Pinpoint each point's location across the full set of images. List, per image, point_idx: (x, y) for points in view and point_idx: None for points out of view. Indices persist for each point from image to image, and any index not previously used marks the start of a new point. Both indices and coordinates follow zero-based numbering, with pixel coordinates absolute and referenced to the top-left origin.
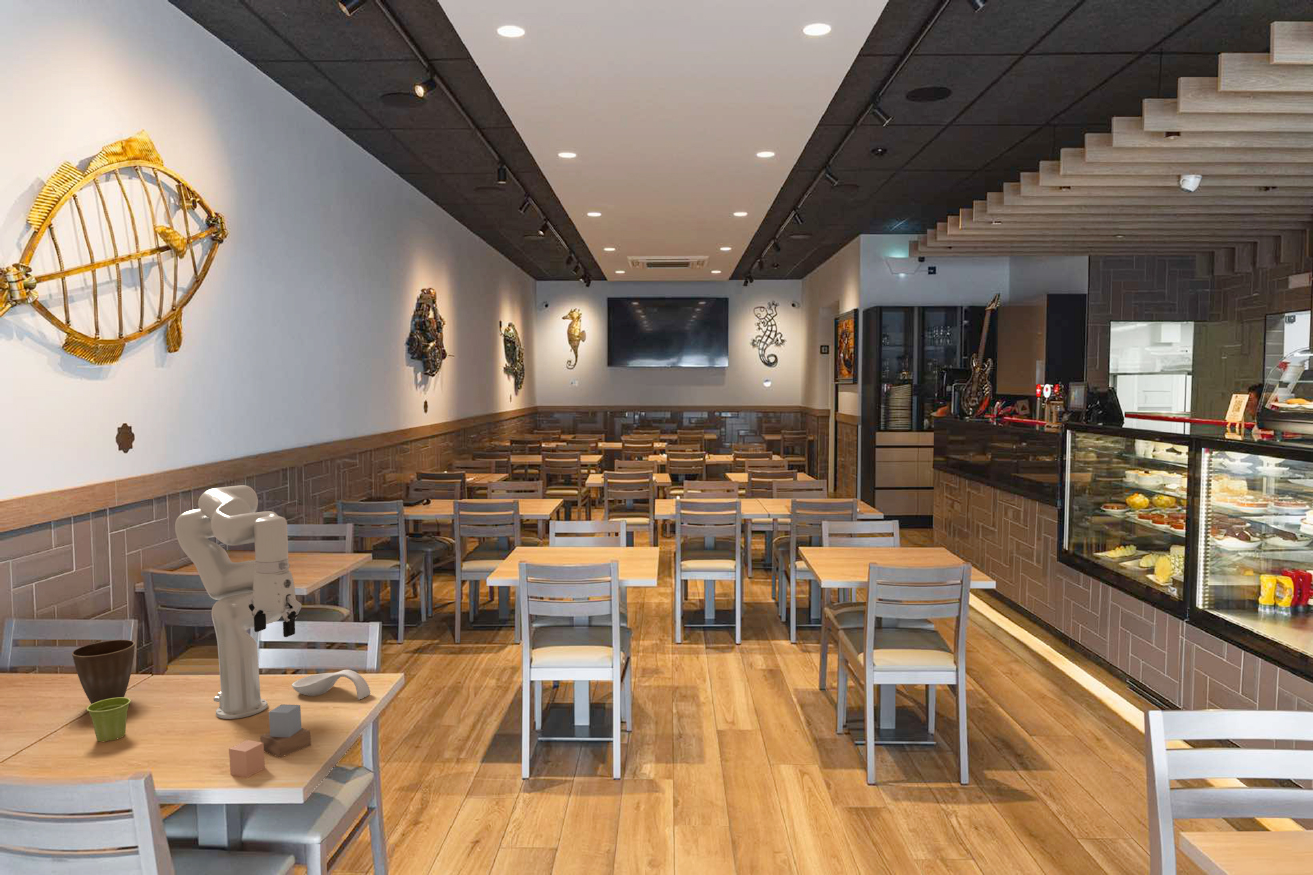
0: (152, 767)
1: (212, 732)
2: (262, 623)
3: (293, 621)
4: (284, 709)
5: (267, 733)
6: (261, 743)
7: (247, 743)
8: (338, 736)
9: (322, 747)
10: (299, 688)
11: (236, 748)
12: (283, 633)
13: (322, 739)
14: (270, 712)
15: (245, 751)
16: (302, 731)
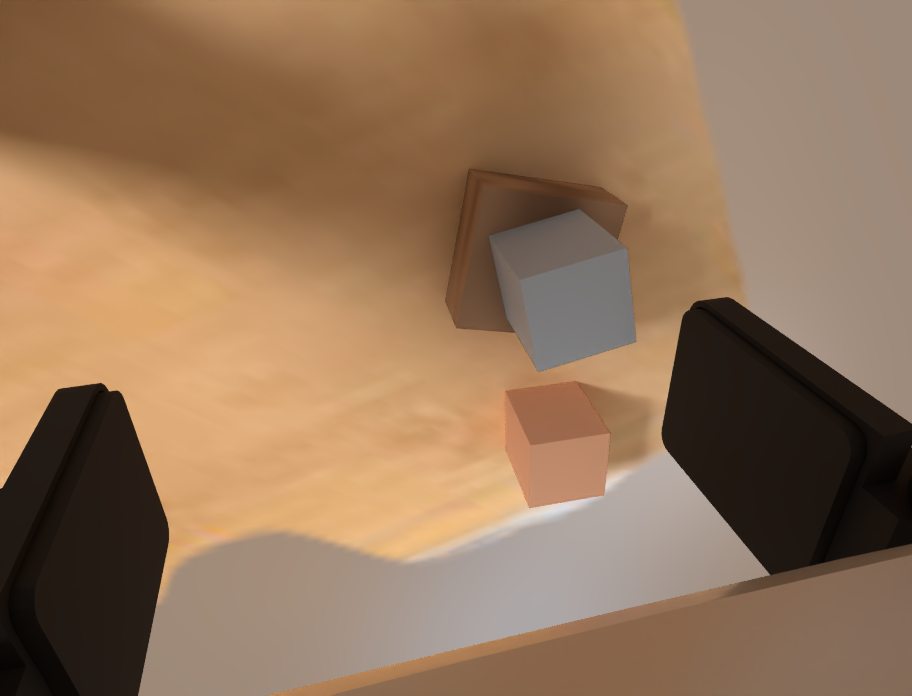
0: (209, 528)
1: (41, 269)
2: (118, 523)
3: (906, 465)
4: (588, 320)
5: (466, 301)
6: (607, 438)
7: (557, 459)
8: (658, 66)
9: (661, 184)
10: None
11: (553, 495)
12: (682, 466)
13: (609, 122)
14: (545, 367)
15: (602, 494)
16: (600, 225)
